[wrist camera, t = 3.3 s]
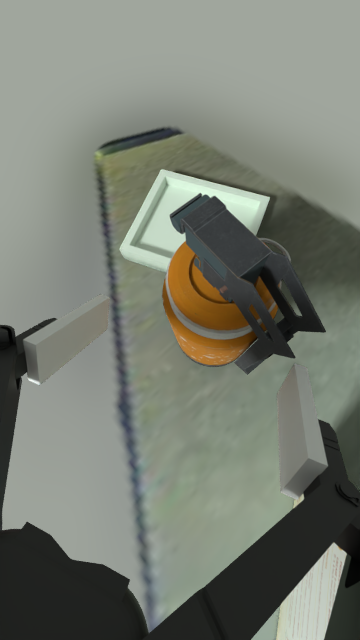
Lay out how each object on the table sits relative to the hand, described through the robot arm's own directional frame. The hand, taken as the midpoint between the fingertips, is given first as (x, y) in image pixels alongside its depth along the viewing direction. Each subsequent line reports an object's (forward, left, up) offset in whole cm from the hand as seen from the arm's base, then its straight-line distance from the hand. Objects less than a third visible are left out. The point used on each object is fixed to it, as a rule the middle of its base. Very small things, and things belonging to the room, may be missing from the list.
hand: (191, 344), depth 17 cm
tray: (+7, -17, -14) cm, 23 cm away
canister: (-1, -4, -14) cm, 15 cm away
